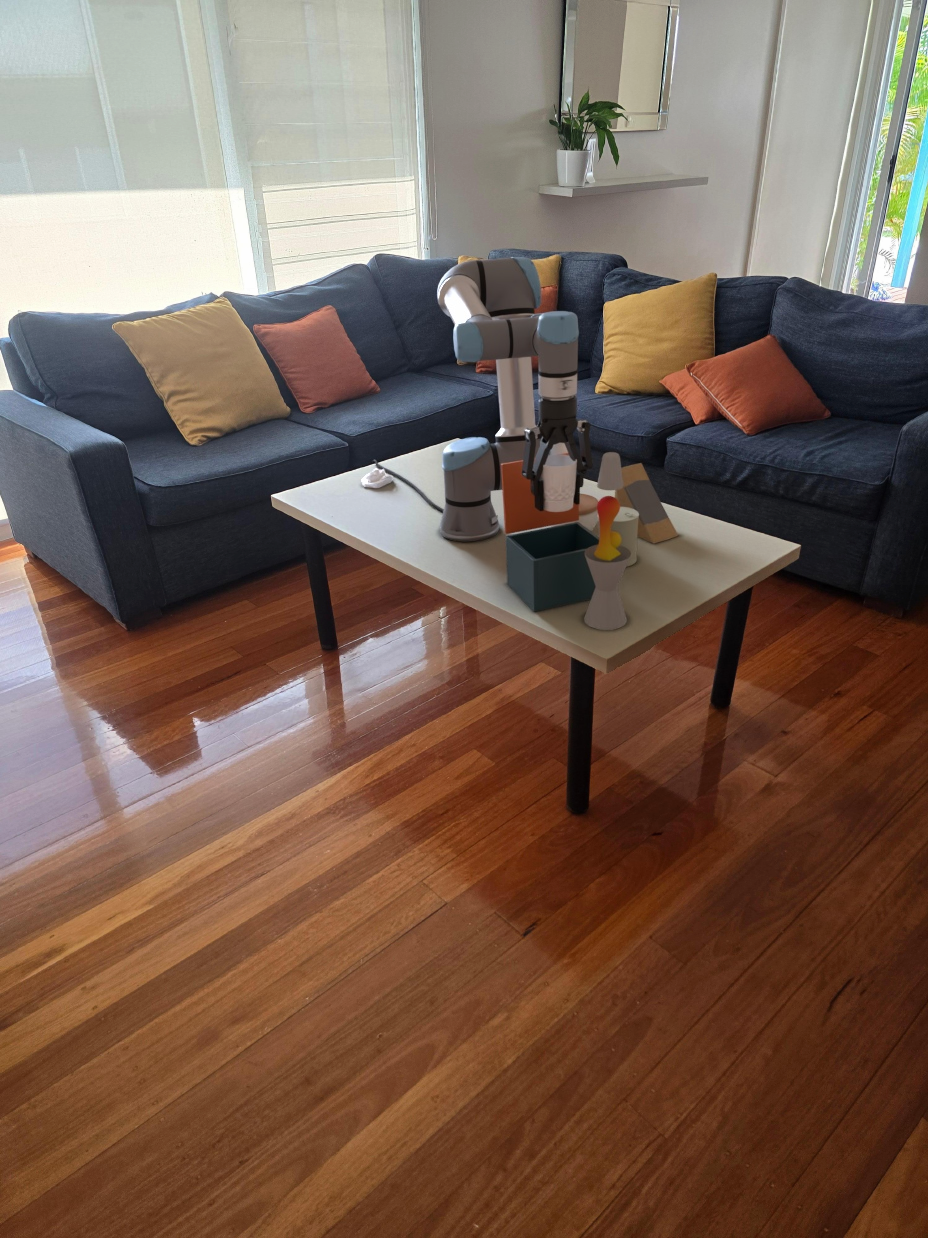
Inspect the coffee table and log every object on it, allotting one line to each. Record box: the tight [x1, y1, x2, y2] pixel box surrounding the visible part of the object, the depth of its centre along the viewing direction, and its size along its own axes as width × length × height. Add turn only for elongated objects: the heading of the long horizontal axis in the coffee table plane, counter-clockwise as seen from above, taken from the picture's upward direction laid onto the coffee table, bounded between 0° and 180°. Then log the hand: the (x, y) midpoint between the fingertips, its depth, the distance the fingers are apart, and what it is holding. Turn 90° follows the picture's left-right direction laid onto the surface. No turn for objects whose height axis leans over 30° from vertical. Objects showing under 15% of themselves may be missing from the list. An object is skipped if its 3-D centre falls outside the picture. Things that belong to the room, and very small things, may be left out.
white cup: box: [540, 455, 577, 512], centre depth 172 cm, size 8×8×10 cm
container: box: [505, 522, 599, 613], centre depth 181 cm, size 15×18×12 cm
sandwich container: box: [614, 462, 679, 544], centre depth 206 cm, size 9×15×15 cm, turn 31°
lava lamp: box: [583, 451, 631, 631], centre depth 162 cm, size 9×9×35 cm
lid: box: [501, 453, 579, 535], centre depth 181 cm, size 15×18×1 cm
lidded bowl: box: [550, 493, 599, 532], centre depth 206 cm, size 13×13×11 cm
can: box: [597, 507, 639, 568], centre depth 193 cm, size 9×9×12 cm
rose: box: [360, 468, 394, 489], centre depth 250 cm, size 10×4×10 cm
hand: (557, 505), depth 174 cm, fingers closed on white cup, 8 cm apart
